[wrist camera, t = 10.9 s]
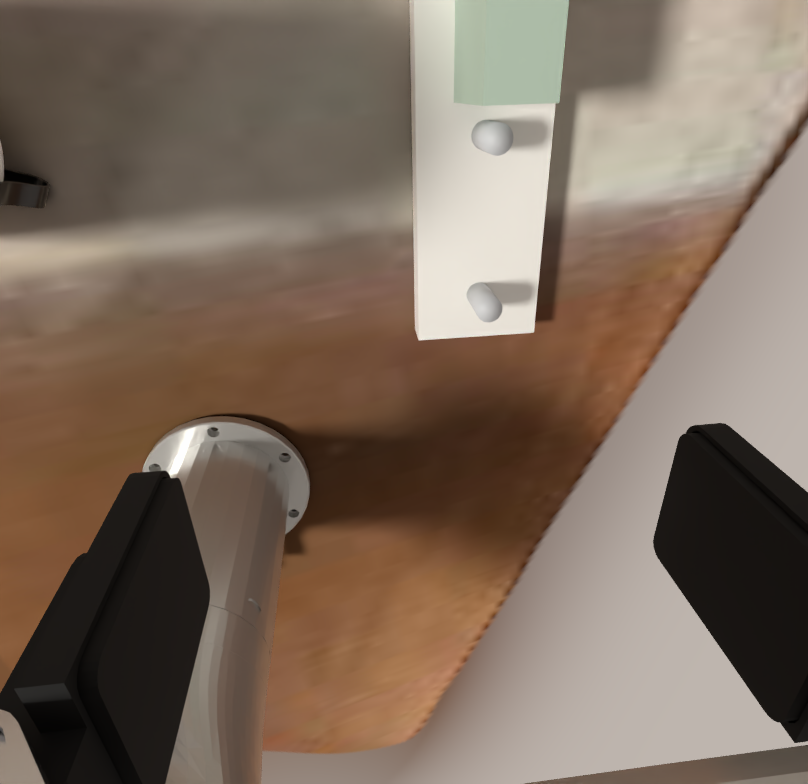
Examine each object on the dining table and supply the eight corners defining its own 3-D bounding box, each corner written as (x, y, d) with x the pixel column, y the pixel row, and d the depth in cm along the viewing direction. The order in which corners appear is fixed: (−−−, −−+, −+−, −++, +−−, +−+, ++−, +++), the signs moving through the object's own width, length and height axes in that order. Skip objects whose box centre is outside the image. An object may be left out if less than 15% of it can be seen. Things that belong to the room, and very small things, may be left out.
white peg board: (525, 321, 40) (548, 350, 35) (415, 329, 39) (424, 359, 35) (565, -145, 28) (608, -189, 23) (406, -146, 27) (420, -191, 23)
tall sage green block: (517, 100, 31) (562, 102, 25) (453, 102, 31) (482, 105, 25) (526, -34, 28) (579, -68, 22) (455, -32, 28) (489, -67, 22)
